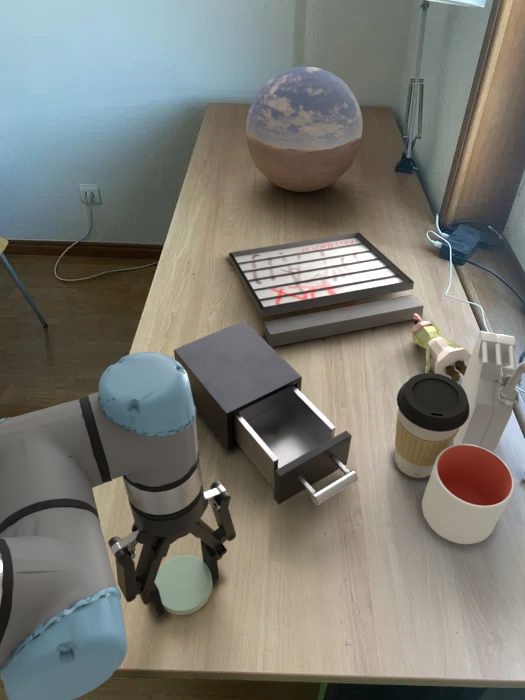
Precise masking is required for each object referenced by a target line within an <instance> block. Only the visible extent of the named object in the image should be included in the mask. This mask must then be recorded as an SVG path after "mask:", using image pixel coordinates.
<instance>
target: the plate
mask: <svg viewBox="0 0 525 700" xmlns="http://www.w3.org/2000/svg"><path fill="white" fill-rule="evenodd" d="M213 583H214V581H213V580H212V574H211V571H210V569H209V567H208V566H207V564H206V563H205V562H204V561H203V559H202V558H200V557H198V556H195V555H191V554H181V555H177V556H174V557H172V558H170V559H168V560H167V561H166V562H165V563H163V565H162V566H160V567H159V570H158V573H157V576H156V579H155V584H156V586H157V588H158V589H159V593H160V597H161V601H162V605H163V609H164V611H166V612H168V613H170V614H173V615H177V616H184V615H185V616H186V615H190V614H193V613H195V612H197V611H199V610H200V609H201V608H203V607H204V606H205V605H206V603H207V602H208V600H209V599H210V597H211V595H212V592H213V585H214V584H213Z"/></svg>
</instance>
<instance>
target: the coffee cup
mask: <svg viewBox="0 0 525 700" xmlns="http://www.w3.org/2000/svg"><path fill="white" fill-rule="evenodd" d="M396 404H397V407H398V408H397V412H396V422H395V423H396V424H395V437H394V446H395V452H394V462H395V465H396V467H397V468H398V469H399V471H400V472H401V473H403V474H404V475H406V476H408V477H411V478H416V479H424V478H427V477H430V475H431V472H432V470H433V467H434V464H435V461H436V458H437V457H438V455H439V454H440V453H441V452H442V451H443V450H444V449H446V448H448V447H450V446H451V444H453V439H454V438H455V436H456V434H457V432H458V431H459V428H460V427H461V426H462V425H463V424H464V423H465V422H466V421H467V419H468V416H469V407H470V406H469V402H468V398H467V395H466V393H465V391H464V389H463V388H462V387H461V384H459V382H458V381H457V382H456V381H454V380H453V379H451V378H449V377H447V376H444V375H441V374H436V373H435V372H429V373H425V372H422V373H418V374H415V375H413V376H411V377H410V378H409V379H408V380H407V381H406V382H404V383H403V384H402V386H401V387H400V388H399V390H398V392H397V394H396Z"/></svg>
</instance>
